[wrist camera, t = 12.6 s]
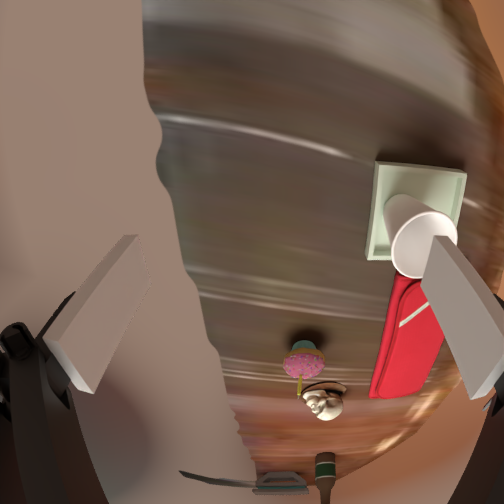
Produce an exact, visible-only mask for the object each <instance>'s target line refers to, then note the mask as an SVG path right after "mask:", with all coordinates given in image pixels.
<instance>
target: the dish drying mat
mask: <svg viewBox="0 0 504 504" xmlns="http://www.w3.org/2000/svg"><path fill="white" fill-rule="evenodd" d="M421 281H422V278H410V277H407V276H405V275H402V274H401V273H400V272H399V271H398V270H397V271H396V275H395V278H394V285H393V289H392V293H391V297H390V302H389V306H388V311H387V316H386V321H385V326H384V330H383V335H382V341H381V345H380V349H379V353H378V357H377V361H376V365H375V369H374V373H373V376H372V381H371V386H370V390H369V395H368V397H369V398H373V399H374V398H381V399H391V398H397V397H403V396H406V395H410V394H413V393H415V392H418V391H419V390H420V389H421V387H422V386H423V384H424V382H425V380H426V379H427V377H428V374H429V372H430V370H431V368H432V365H433V363H434V361H435V359H436V357H437V354H438V352H439V350H440V347H441V344H442V342H443V340H444V337H445V336H444V333H443V331H442V329H441V327H440V325H439V323H438V320H437V318H436V316H435V314H434V312H433V310H432V308H431V306H430V304H429V302H428V300H427V298H426V296H425V294H424V292H423V290H422V288H421V287H420V284H421Z"/></svg>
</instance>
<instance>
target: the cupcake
mask: <svg viewBox="0 0 504 504" xmlns="http://www.w3.org/2000/svg"><path fill="white" fill-rule="evenodd" d="M283 364H284V365H283V368H284V370H285V371H286V372H287V374H288V375H290V376H292V378H298V379H299V382H298V391H297V395H298V399H299V395H301V385H302V379H309V378H312V377H314V376H316V375H317V374H319V373H320V372H321V371H322V370H323V368H324V365H325V356H324V355H323V353H322V352H321V351H319V350H317V349H316V347H315V345H314V344H313V343H312V342H311V341H307V340H302V341H298V342H296V343H295V344H294V345H293V347H292V350H291V352H289V353H287V354H286V355H285V358H284V362H283Z"/></svg>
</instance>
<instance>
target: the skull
mask: <svg viewBox="0 0 504 504" xmlns="http://www.w3.org/2000/svg"><path fill="white" fill-rule="evenodd" d="M341 391H342V392H344V391H346V388H345V387H344V386H343V385H341V384H338V383H323V384H318V385H315V386H312V387H310V388H308V389H306V390H305V391H303V393H302V394H301V397H300V398H301V400H302V402H304V403H305V404H307V405H308V406H310V407H311V408H312V412H314V413H315V414H316V417H318V418H320V419H322V420H331V419H333V418H335V417H336V416H338V415H339V414H340V413H341V412H342V409H343V401H342V399H341V397H340V394H342V392H341Z"/></svg>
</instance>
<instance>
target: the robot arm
mask: <svg viewBox="0 0 504 504" xmlns="http://www.w3.org/2000/svg"><path fill="white" fill-rule="evenodd" d="M150 286H151V280H150V276H149V273H148V270H147V266H146V262H145V259H144V255H143V251H142V247H141V243H140V239H139V236H138V235H124V236H123V237H122V238H121V239H120V240H119V241H118V242H117V244H116V245H115V246H114V247H113V248H112V249H111V250H110V252H109V253H108V254H107V255H106V256H105V257H104V259H103V260H102V261H101V262H100V263H99V264H98V266H97V267H96V268H95V269H94V270H93V272H92V273H91V274H90V275H89V277H88V278H87V279H86V280H85V281H84V283H83V284H82V285H81V286H80V288H79V289H78V290H77V291H76V292H73V293H72V294H71V295H69V296H68V297H67V298H65V299H64V301H63V302H62V303H61V304H60V306H59V307H58V309H57V310H56V311H55V312H54V314H53V316H51V318H50V319H49V320H48V322H47V323H46V325H45V326H44V327H43V329H42V330H41V331H40V333H39V334H38V335H37V337H36V338H35V339H34V338H33V336H32V335H31V333H30V331H29V330H28V328H27V326H26V325H25V324H24V323H22V322H16V323H13V324H11V325H9V326H7V327H6V328H5V329H4V330H3V331H2V333H1V334H0V345H1V347H2V348H3V350H4V351H5V353H2V352H1V350H0V395H1V396H2V397H3V401H2V403H1V402H0V504H109V503H108V501H107V498H106V496H105V494H104V491H103V489H102V487H101V484H100V482H99V480H98V477H97V474H96V472H95V469H94V467H93V464H92V461H91V459H90V456H89V453H88V450H87V447H86V444H85V441H84V438H83V435H82V432H81V428H80V425H79V421H78V417H77V414H76V410H75V406H74V402H73V398H72V394H71V391H70V389H69V388H68V384H69V382H70V380H71V381H72V382H73V384H74V385H75V386H76V388H77V389H78V390H81V391H85V392H89V393H92V394H94V393H95V390H96V388H97V386H98V384H99V382H100V380H101V378H102V376H103V374H104V372H105V370H106V368H107V366H108V364H109V362H110V360H111V358H112V356H113V354H114V352H115V350H116V348H117V346H118V345H119V342H120V341H121V339H122V337H123V335H124V333H125V331H126V329H127V328H128V326H129V324H130V322H131V320H132V318H133V316H134V315H135V313H136V311H137V309H138V307H139V305H140V304H141V302H142V300H143V298H144V297H145V295H146V293H147V291H148V290H149V288H150ZM420 287H421V288H422V290H423V292H424V294H425V296H426V298H427V300H428V302H429V304H430V306H431V308H432V310H433V312H434V314H435V316H436V318H437V320H438V323H439V325H440V327H441V329H442V331H443V333H444V336H445V338H446V340H447V342H448V345H449V347H450V349H451V352H452V354H453V356H454V359H455V361H456V364H457V366H458V369H459V371H460V374H461V376H462V379H463V381H464V384H465V387H466V390H467V392H468V395H469V398H470V400H472V399H476V398H479V397H483V396H486V395H487V393H488V392H489V391H490V390H491V388H492V387H493V386H494V387H495V389H496V393H495V395H494V396H493V397H492V398H491V399H490V400H489V401H488V403H487V404H486V405H485V406H484V408H483V411H485V410H486V409H487V408H488V406H490V407H489V410H488V412H487V416H486V419H485V422H484V425H483V428H482V431H481V433H480V436H479V438H478V441H477V443H476V446H475V448H474V451H473V453H472V456H471V458H470V460H469V462H468V464H467V467H466V469H465V471H464V473H463V475H462V477H461V479H460V481H459V483H458V485H457V487H456V489H455V491H454V493H453V495H452V496H451V498H450V500H449V502H448V504H504V301H503V300H502V299H501V298H499V297H498V296H497V295H496V294H492V292H491V291H490V289H489V288H488V287H487V285H486V284H485V282H484V281H483V280H482V278H481V277H480V276H479V274H478V273H477V272H476V270H475V269H474V268H473V266H472V265H471V264H470V263H469V261H468V260H467V259H466V257H465V256H464V255H463V254H462V252H461V251H460V250H459V249H458V248H457V246H456V245H455V244H454V243H453V242H452V240H451V239H450V238H449V237H448V236H444V235H434V237H433V241H432V245H431V249H430V253H429V257H428V260H427V264H426V267H425V271H424V274H423V278H422V281H421V284H420Z"/></svg>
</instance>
